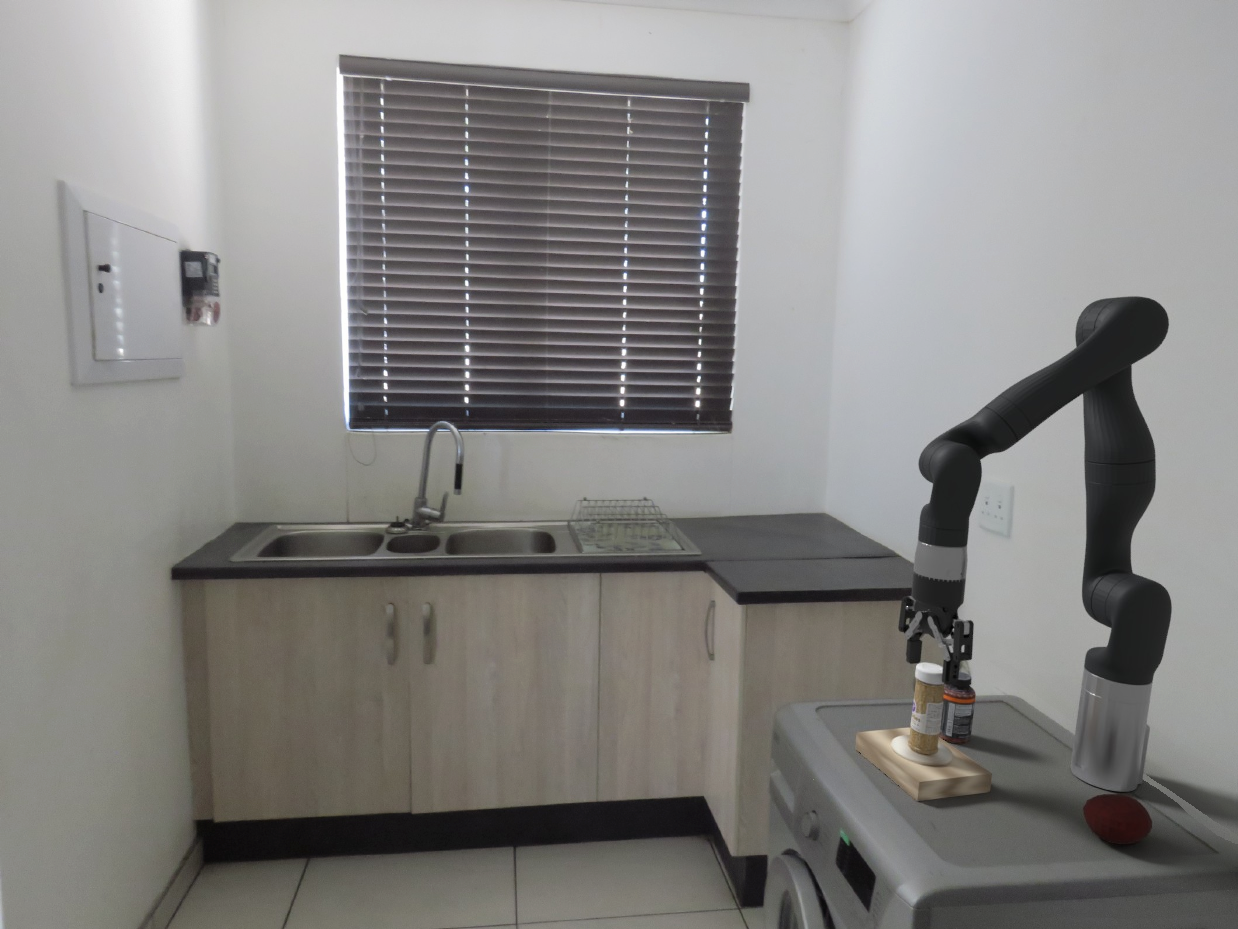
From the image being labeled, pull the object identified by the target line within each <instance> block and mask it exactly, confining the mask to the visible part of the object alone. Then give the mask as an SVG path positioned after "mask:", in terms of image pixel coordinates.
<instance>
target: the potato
mask: <svg viewBox="0 0 1238 929" xmlns="http://www.w3.org/2000/svg"><path fill="white" fill-rule="evenodd" d="M1082 808H1083V809H1082V812H1083V817H1084V820H1085V822H1086V825H1087V826H1088V828H1089V829H1090V830H1091V832H1092V833H1093V834H1094V835H1095V836H1097V837H1099V838H1100V839H1102V840H1104V841H1106V842H1109V843H1112V844H1116V845H1117V844H1118V845H1129V844H1135V843H1137V842H1139V841H1141V840H1143V839H1145V838H1146V837H1148V836H1149V834H1150V832H1151V831H1152V829H1153V821H1152V818H1151V816H1150V812H1149V811H1148V810H1147V808H1145V806H1144V805H1143V804H1142V803H1141V802H1140V801H1138V799H1137V798H1133V797H1131V796H1129V795H1127V794H1126V795H1125V794H1122V793H1106V794H1105V793H1104V794H1099V795H1095V796H1093V797H1091V798H1089V799H1087V800H1086V802H1085V803H1084V806H1083V807H1082Z"/></svg>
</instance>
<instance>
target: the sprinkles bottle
mask: <svg viewBox="0 0 1238 929" xmlns="http://www.w3.org/2000/svg"><path fill="white" fill-rule="evenodd" d="M942 672H943V665H941V664H940V665H939V664H938V663H937V664H936V663H933V662H920V663H917V664H916V667H915V672H914V677H915V688H914V696H913V700H912V701H913V702H912V710H911V719H910V727H911V729H910V738H909V741H908V746H909V747H910V748H911V749H912V750H914V751H915V752H918V753H921V754H935V753H937V752H938V739H939V733H940V727H941V718H942V709H943V696H944V687H945V684H944V683H943V682H942Z"/></svg>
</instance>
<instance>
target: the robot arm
mask: <svg viewBox="0 0 1238 929" xmlns="http://www.w3.org/2000/svg"><path fill="white" fill-rule="evenodd" d="M1169 326H1170V319H1169V315H1168V313H1167V311H1166V309H1165V307H1164V306H1162V304H1161V303H1160V302H1158V301H1157V300H1155V299H1152V298H1150V297H1146V296H1145V297H1144V296H1138V295H1136V296H1134V295H1132V296H1117V297H1109V298H1101V299H1098V300H1095V301H1093V302H1091V303H1089V304H1088V305H1086V307H1085V308H1084V309H1083V310H1082V312H1081V313H1080V315H1079V316H1078V319H1077V321H1076V325H1075V338H1074V339H1075V346H1076V347H1075V348H1074V349H1073V350H1071V351H1069V352H1068V353H1066V354H1065V355H1064V356H1062V357H1061V358H1059V359H1058V360H1055V361H1053V362H1052V363H1051V364H1049V365H1047V366H1045V367H1043V368H1041V369H1040V370H1038V371H1036V372H1033V373H1031V374H1029V375H1028V376H1026V377H1024V378H1022V379H1021V380H1019V381H1017V382H1016V383H1013V384H1012V385H1011V386H1009V387H1008V388H1007V389H1005V390H1004V391H1003V392H1001V393H1000V394H998V395H997V396H996V397H995V398H994V399H992V400H990V402H988V403H987V404H986V405H985V406H984V407H982V408H981V409H979V410H978V411H977V413H975V414H974V415H973V416H971V417H969V418H968V419H966V420H964V421H962V422H960V423H958V424H957V425H955V426H952V427H951V428H950V429H948V430H946V431H944V432H943V433H942V434H940V435H938V436H937V437H936V438H934V439H933V440H931V441H930V442H929V443H928V444H927V445H926V446H925V447H924V448H923V450H922V451H921V453H920V456H919V458H918V464H917V465H918V470H919V473H920V474H921V476H922V477H923V479H925V480H926V481H927V482H929V483H932V488H931V494H930V499H929V503H927V504H925V505H923V507H921V508H922V509H921V511H920V514H919V515H920V516H919V524H918V525H919V526H918V536H917V543H916V544H917V545H916V547H915V553H914V561H913V573H912V584H911V585H912V586H911V595H908V596H902V598H901V602H900V612H899V620H898V626H897V627H898V631H899V632H900V633H904V638H905V639H906V649H905V650H906V651H905V657H906V660H905V661H906V662H907V663H908V664H910V665H913V664H916V665H917V664H919V663H921V660H922V649H923V640H922V638H923V637H924V636H925V634H926V635H929V636H930V637H931V638H933V639H935V642H936V645H937V646H938V647H939V648H940V649H941V651H942V652H941V653H942V655H943V657H944V659H943V662H942V663H943V664H942V667H943V672H942V682H943V683H944V684H946V685H949V684H955V683H956V682H957V681H958V678H959V671H960V666H961V662H963V661H965V662H966V661H972V659H973V649H974V648H973V647H974V628H975V625H974V621H972V620H971V619H970V620H969V619H967V620H963V619H960V617H959V608H960V607H961V606H962V605H963V604H964V602H965V592H966V591H965V590H966V583H967V582H966V580H967V573H968V572H967V570H968V540H969V529H970V517H971V513H972V511H973V509H974V507H975V504H976V500H977V497H978V494H979V492H980V491H979V490H980V487H981V483H982V477H983V474H982V473H983V469H982V461H981V460H983V459H984V458H985V457H987V456H990V455H992V454H997V453H998V454H999V453H1002V452H1005V451H1007V450H1009V449H1010V448H1011V447H1013V446H1014V445H1015V444H1017V443H1018V442H1020V441H1021V440H1022V439H1024V437H1026V436H1028V435H1029V434H1030V433H1031V432H1032V431H1034V430H1035V429H1036V428H1038V427H1039V426H1040V425H1041V424H1042V423H1044V422H1045V421H1046V420H1048V419H1049V418H1050V417H1052V416H1053V415H1055V413H1056V412H1057V413H1058V412H1059V411H1060V410H1061V409H1062V408H1064V407H1066V406H1067V405H1069V404H1070V403H1071V402H1073V401H1074V400H1076V399H1077V398H1078V397H1080V396H1081V395H1082V399H1083V400H1082V401H1083V402H1082V403H1083V405H1082V406H1083V434H1084V436H1083V437H1084V451H1083V452H1084V456H1083V459H1084V463H1083V464H1084V485H1085V486H1084V487H1085V510H1086V512H1085V527H1086V528H1085V529H1086V530H1085V531H1086V532H1085V533H1086V534H1085V536H1086V537H1085V551H1084V561H1083V572H1082V581H1081V583H1082V586H1081V599H1082V604H1083V607H1084V610H1085V612H1086V613H1087V615H1088V616H1089V617H1090V618H1091V619H1093V620H1094V621H1095V622H1097V623H1099V624H1101V625H1103V626H1106V627H1107V628H1110V634H1109V638H1108V642H1107V645H1106V646H1096V647H1095V646H1094V647H1092V648H1089V649H1088V650H1087V651H1086V653H1085V657H1084V663H1083V664H1084V665H1083V673H1082V679H1081V687H1080V688H1081V689H1080V696H1079V701H1078V702H1079V703H1078V709H1077V715H1076V725H1075V730H1074V731H1075V732H1074V738H1073V739H1074V740H1073V745H1072V746H1073V747H1072V754H1071V759H1070V768H1069V769H1070V771H1071V773H1072V774H1073V775H1074V776H1075V777H1076V778H1078V779H1079V780H1081V781H1083V782H1085V783H1086V784H1089V785H1091V786H1094V787H1097V788H1100V789H1103V790H1107V791H1114V792H1119V793H1120V792H1124V793H1125V792H1128V793H1129V792H1133V791H1134V790H1135V791H1136V789H1137V787H1138V785H1141V784H1143V779H1144V773H1145V772H1144V771H1145V766H1146V758H1147V751H1148V744H1149V737H1150V731H1151V728H1150V725H1148V724H1147V723H1148V717H1149V709H1150V703H1151V696H1152V695H1151V694H1152V689H1153V680H1154V675H1155V673H1156V671H1157V670H1158V668H1159V666H1160V664H1161V663H1162V660H1163V658H1164V655H1165V654H1164V652H1165V647H1166V643H1167V638H1168V635H1169V634H1168V633H1169V630H1170V624H1171V621H1172V611H1173V610H1172V609H1173V607H1172V599H1171V596H1170V592H1169V590H1167V588H1166V587H1164V586H1163V584H1161V583H1160V582H1157V581H1156V580H1153V579H1151V578H1147V577H1144V576H1142V575H1139V574H1137V573H1134V572H1133V567H1132V539H1133V535H1134V532H1135V529H1136V527H1137V525H1138V523H1139V522H1140V520H1141V519H1142V517H1143V516H1144V514H1145V513H1146V511H1147V509H1148V508H1149V505H1150V504H1151V502H1152V500H1153V497H1154V495H1155V492H1156V485H1157V484H1156V483H1157V479H1156V478H1157V470H1156V468H1157V467H1156V465H1157V463H1156V461H1157V460H1156V456H1157V455H1156V448H1155V443H1154V440H1153V436H1152V433H1151V431H1150V429H1149V426H1148V424H1147V422H1146V420H1145V417H1144V415H1143V413H1142V411H1141V408H1140V407H1139V404H1138V402H1137V399H1136V395H1135V392H1134V387H1133V376H1132V374H1133V373H1132V371H1133V366H1132V365H1134V364H1135V363H1137V362H1139V361H1141V360H1143V359H1144V358H1146V357H1147V356H1149V355H1151V354H1152V353H1154V352H1155V351H1156V350H1157V349H1158V348H1159V347H1160V346H1161V345H1162V344H1163V342H1164V341H1165V339H1166V337H1167V334H1168V332H1169V328H1170V327H1169ZM908 619H909V620H908ZM907 621H908V623H907ZM949 636H950V638H948V637H949ZM950 647H951V648H952V652H951V649H950ZM962 648H963V650H962ZM1139 783H1140V784H1139Z"/></svg>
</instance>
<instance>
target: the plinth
mask: <svg viewBox="0 0 1238 929" xmlns="http://www.w3.org/2000/svg"><path fill="white" fill-rule="evenodd" d="M910 729H911V726H910V727H900V728H899V727H898V728H890V729H889V728H887V729H879V730H868V731H867V730H866V731H857V732H856V736H855V748H854V750H855V749H856V750H858V751H859V752H860V753H861V754H862V755H863V756H864V757H865V758H864V757H863V756H862V755H861V754H860V753H859V754H860V755H861V756H862V757H863V758H864V759H866V758H867V759H868V760H869V761H870V762H871V763H870V762H869V761H868V760H867V759H866V760H867V761H868V762H869V763H870V764H872V763H873V764H874V765H875V766H876V767H878V768H879V769H880V770H881V771H882V772H881V771H880V770H879V769H878V768H877V769H878V770H879V771H880V772H881V773H883V772H884V773H885V774H886V775H887V776H888V777H887V776H886V775H885V774H884V773H883V774H884V775H885V776H886V777H887V778H889V777H890V778H891V779H890V778H889V779H890V780H891V781H892V780H893V781H894V782H893V781H892V782H893V783H895V785H897V786H898V785H899V786H900V787H899V786H898V787H899V788H900V789H902V790H903V791H904V792H906V793H907V795H909V796H910V797H911V798H912V799H914V800H915V801H916V802H921V801H930V800H936V799H937V800H938V799H945V798H954V797H961V796H968V795H969V796H970V795H977V794H985V793H990V792H991V786H992V779H993V778H992V777H993V773H992V771H990V770H988V769H986V767H984V766H982V765H980V764H979V763H978V762H976V761H975V760H974V759H972V758H971V757H970V756H968V755H966V754H965V753H963V752H962V751H961V750H959V749H958V748H956V747H954V746H953V745H952V744H950V743H948V741H945V740H943V739H941V738H940V737H939V739H938V752H937V753H935V754H921V753H918V752H915V751H914V750H912V749H911V748H910V747H909V746H908V741H909V738H910ZM856 750H855V751H856ZM873 764H872V765H873ZM874 765H873V766H874ZM875 766H874V767H875ZM876 767H875V768H876Z"/></svg>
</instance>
